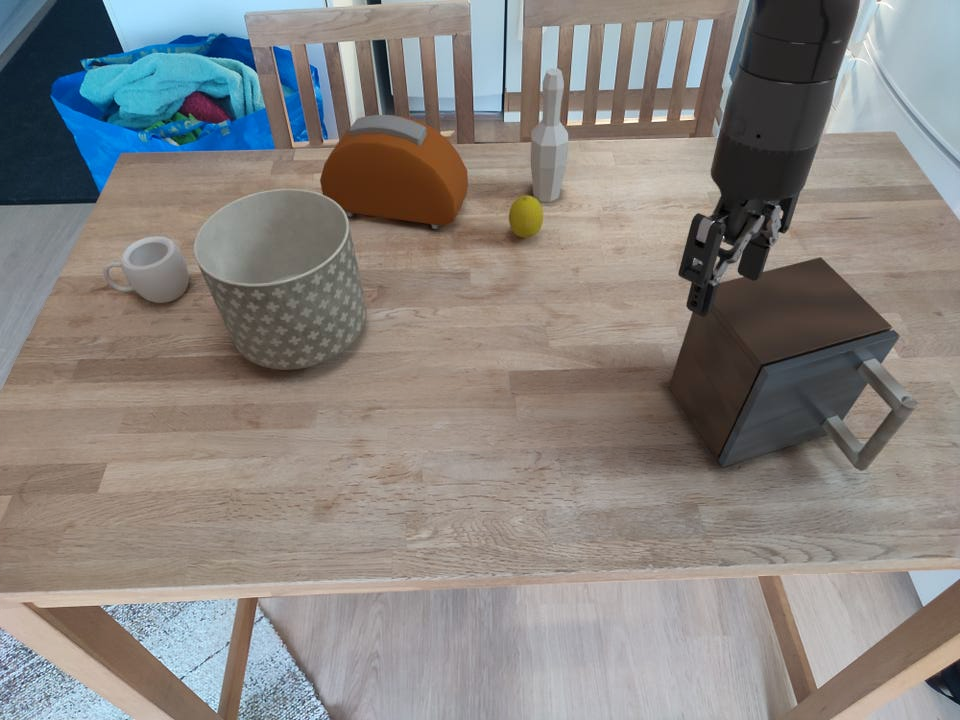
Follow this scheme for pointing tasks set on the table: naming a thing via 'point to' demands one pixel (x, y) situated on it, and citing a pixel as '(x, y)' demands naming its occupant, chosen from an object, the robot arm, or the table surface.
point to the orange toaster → (396, 171)
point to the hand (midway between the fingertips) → (723, 293)
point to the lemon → (526, 216)
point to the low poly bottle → (549, 141)
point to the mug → (152, 269)
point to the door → (820, 402)
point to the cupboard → (762, 338)
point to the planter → (283, 277)
